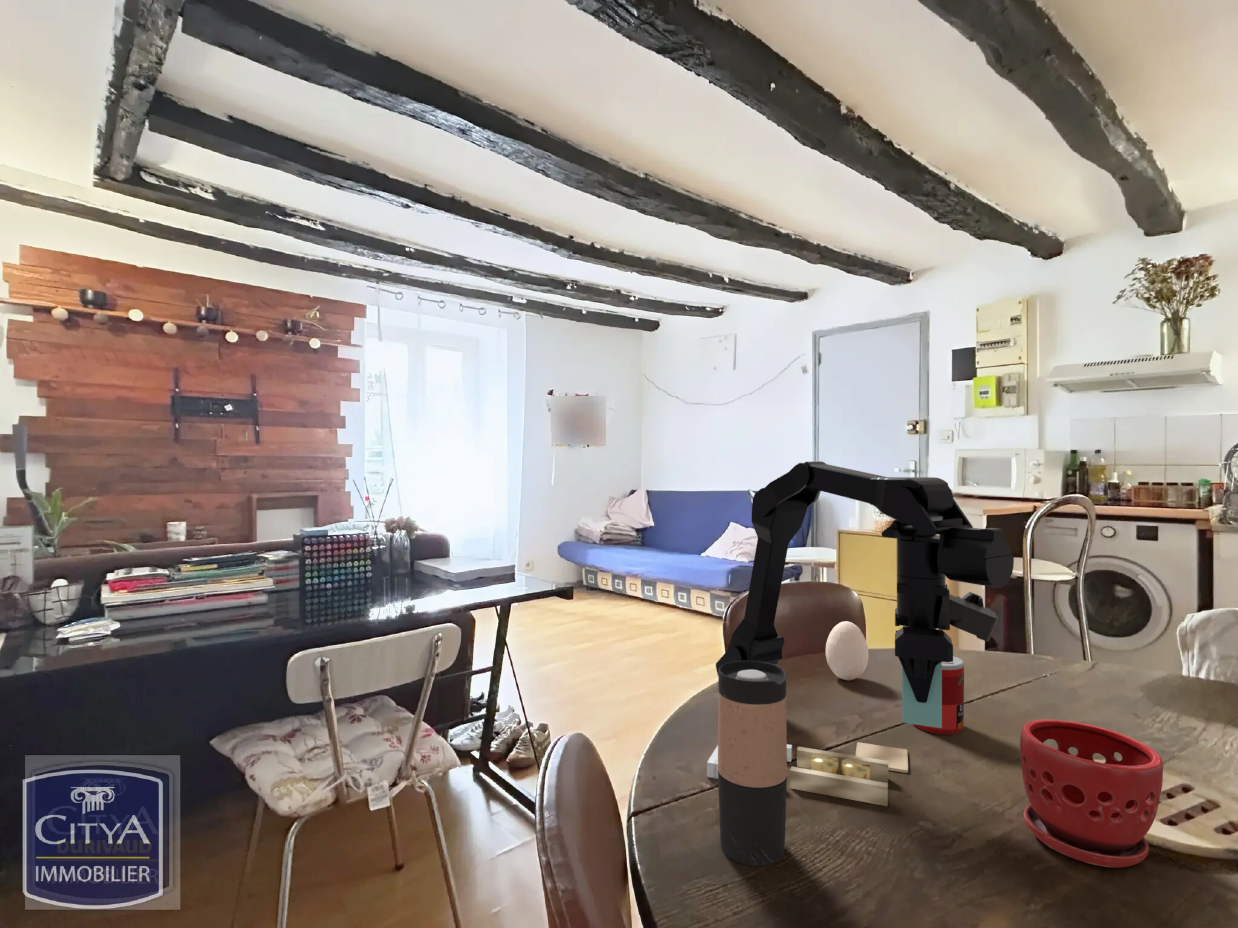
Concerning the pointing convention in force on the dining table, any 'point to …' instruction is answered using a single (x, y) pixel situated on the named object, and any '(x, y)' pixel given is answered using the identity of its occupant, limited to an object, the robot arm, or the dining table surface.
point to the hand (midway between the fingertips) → (921, 696)
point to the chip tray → (713, 762)
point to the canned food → (951, 699)
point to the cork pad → (885, 755)
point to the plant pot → (1090, 791)
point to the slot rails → (841, 778)
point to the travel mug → (752, 761)
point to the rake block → (923, 711)
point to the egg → (847, 651)
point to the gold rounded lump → (824, 763)
